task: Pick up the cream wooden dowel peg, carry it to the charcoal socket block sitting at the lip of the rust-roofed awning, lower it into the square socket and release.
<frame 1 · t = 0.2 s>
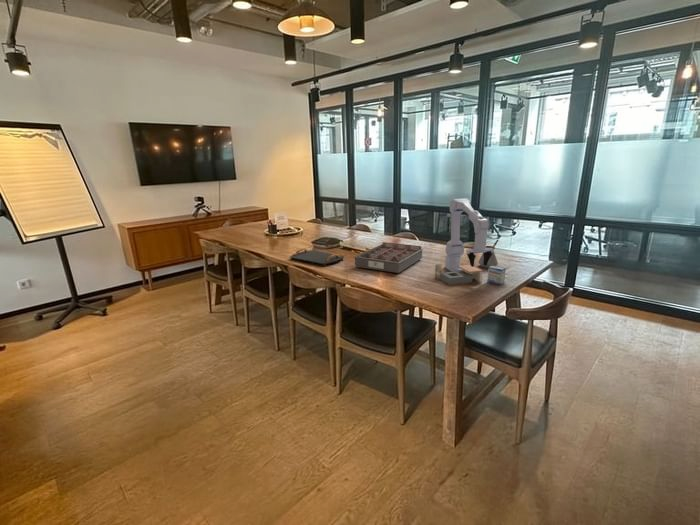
hand: (478, 265, 191), 10 cm above the table, fingers open, 7 cm apart
awning: (471, 279, 201), on the table
coffee pot: (490, 265, 227), on the table
medicine box: (495, 282, 194), on the table
organizer tray: (389, 264, 235), on the table
serving board: (316, 260, 250), on the table
socket block: (453, 281, 198), on the table
peg: (438, 277, 204), on the table
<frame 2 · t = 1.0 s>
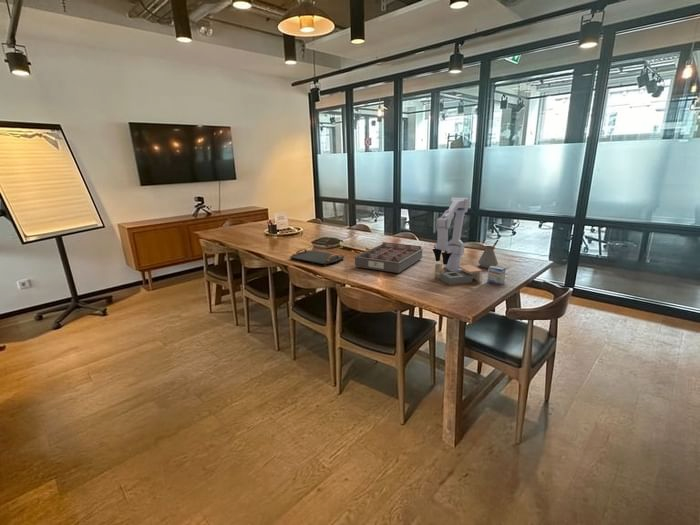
hand: (441, 262, 201), 9 cm above the table, fingers open, 7 cm apart
nothing on the table moved.
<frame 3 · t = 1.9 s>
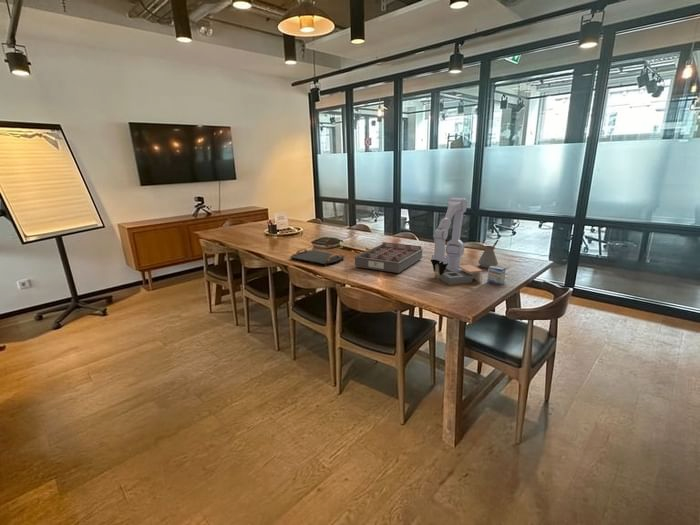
hand: (438, 273, 203), 3 cm above the table, fingers open, 6 cm apart
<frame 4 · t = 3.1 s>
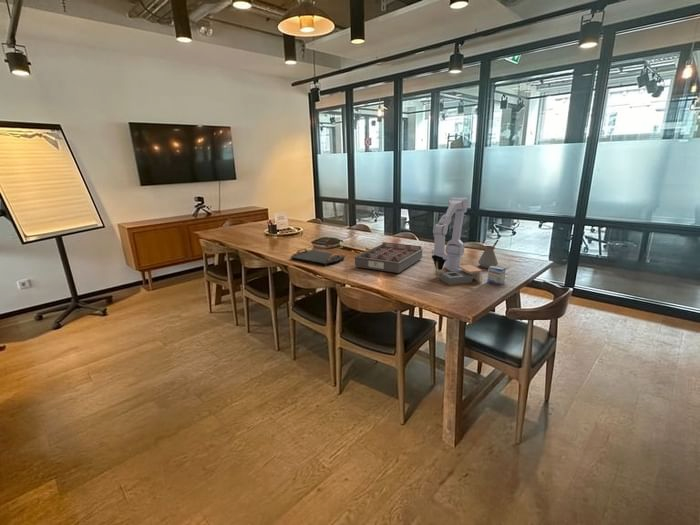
hand: (438, 268, 203), 6 cm above the table, fingers closed on peg, 3 cm apart
peg: (438, 275, 204), point 2 cm above the table, touching gripper
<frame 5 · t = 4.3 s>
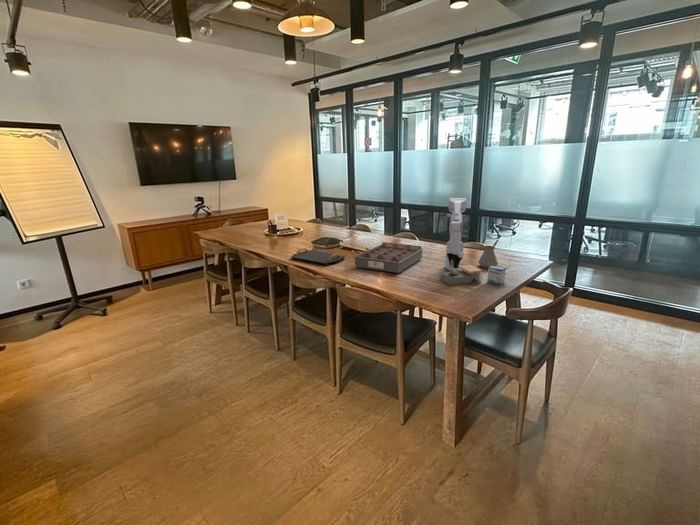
hand: (453, 267, 196), 8 cm above the table, fingers closed on peg, 3 cm apart
peg: (453, 273, 197), point 4 cm above the table, touching gripper
when the fingers open (5 cm above the table, at t = 5.4 s): peg stays where it is, resting in socket block.
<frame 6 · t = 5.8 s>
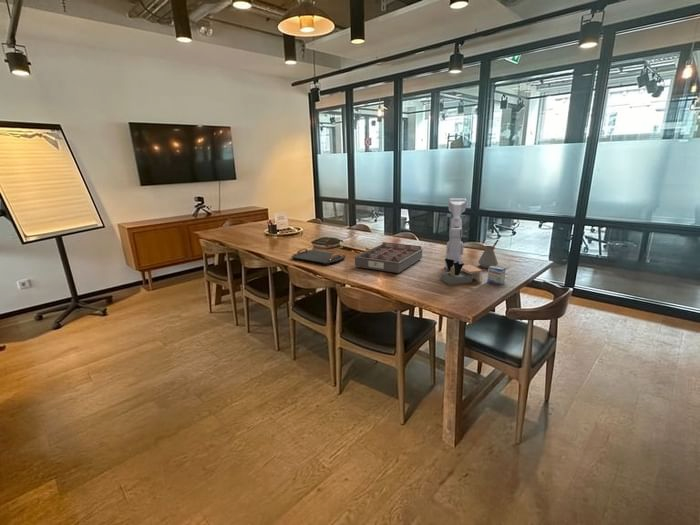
hand: (453, 273, 197), 5 cm above the table, fingers open, 7 cm apart
peg: (453, 281, 198), resting in socket block
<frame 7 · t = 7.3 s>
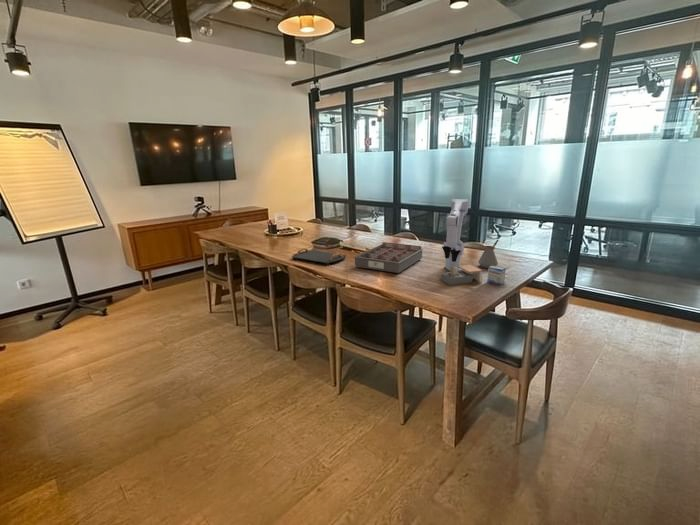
hand: (450, 259, 204), 10 cm above the table, fingers open, 7 cm apart
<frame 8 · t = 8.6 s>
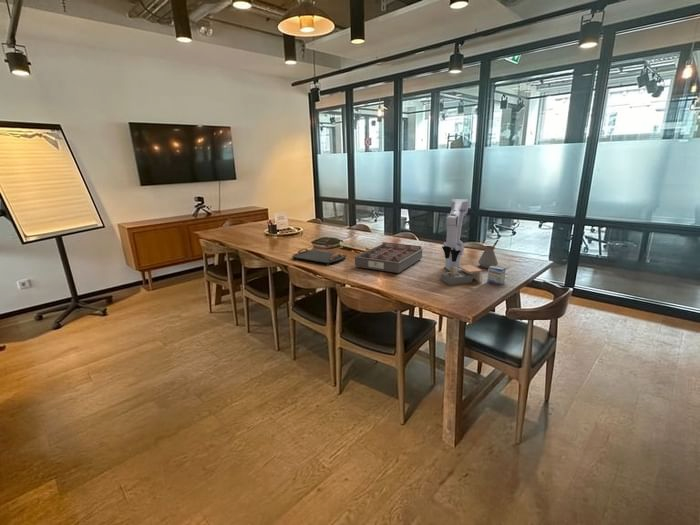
hand: (450, 259, 204), 10 cm above the table, fingers open, 7 cm apart
at the end: peg 0.1 cm off-centre on the socket block, point 0.0 cm above the socket block's base; peg tilted 0°; the gripper is holding nothing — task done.
